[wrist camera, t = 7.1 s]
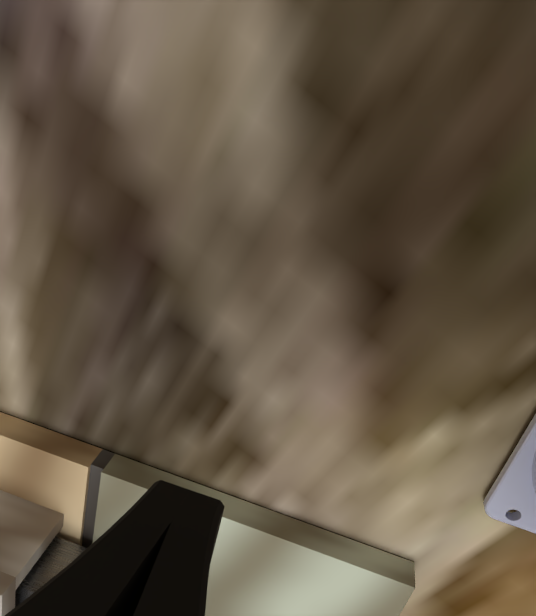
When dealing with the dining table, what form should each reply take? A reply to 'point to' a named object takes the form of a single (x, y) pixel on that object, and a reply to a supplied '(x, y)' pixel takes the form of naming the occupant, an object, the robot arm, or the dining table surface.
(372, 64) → the dining table surface
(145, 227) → the dining table surface
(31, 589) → the charcoal brick
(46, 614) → the robot arm
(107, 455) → the base
